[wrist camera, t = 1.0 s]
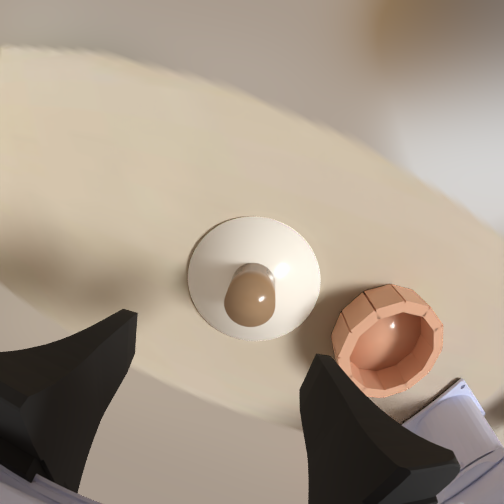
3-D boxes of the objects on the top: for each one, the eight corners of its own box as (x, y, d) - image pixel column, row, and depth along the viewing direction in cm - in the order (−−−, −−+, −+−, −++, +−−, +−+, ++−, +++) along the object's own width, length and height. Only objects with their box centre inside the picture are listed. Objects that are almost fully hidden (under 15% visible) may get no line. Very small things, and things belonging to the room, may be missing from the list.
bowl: (441, 328, 22) (457, 346, 19) (369, 388, 23) (377, 411, 21) (393, 263, 20) (409, 278, 18) (311, 336, 22) (315, 358, 19)
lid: (345, 281, 21) (359, 304, 18) (254, 357, 24) (250, 389, 20) (253, 186, 20) (248, 191, 16) (165, 278, 22) (145, 300, 18)
